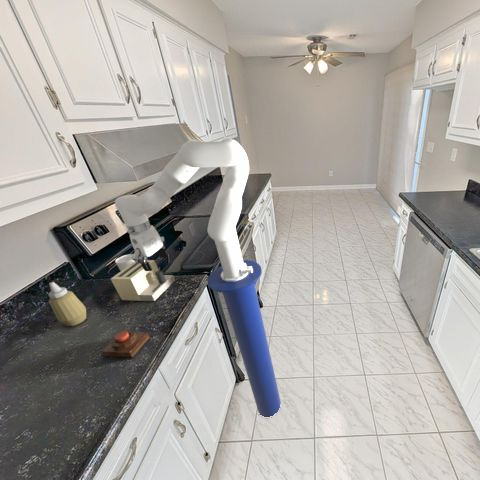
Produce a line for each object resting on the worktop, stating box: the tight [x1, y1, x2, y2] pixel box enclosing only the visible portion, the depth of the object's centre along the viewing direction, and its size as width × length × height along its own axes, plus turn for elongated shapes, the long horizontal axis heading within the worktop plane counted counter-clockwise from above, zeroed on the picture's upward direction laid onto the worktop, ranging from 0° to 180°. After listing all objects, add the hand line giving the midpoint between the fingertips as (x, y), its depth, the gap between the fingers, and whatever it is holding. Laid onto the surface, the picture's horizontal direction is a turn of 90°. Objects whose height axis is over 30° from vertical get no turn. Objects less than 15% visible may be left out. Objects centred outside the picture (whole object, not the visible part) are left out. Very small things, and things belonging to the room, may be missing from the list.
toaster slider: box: [155, 270, 166, 284], centre depth 109 cm, size 3×3×5 cm
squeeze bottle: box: [47, 281, 87, 327], centre depth 92 cm, size 8×8×18 cm
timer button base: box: [100, 329, 151, 358], centre depth 83 cm, size 10×8×4 cm
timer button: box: [113, 330, 130, 343], centre depth 82 cm, size 4×4×2 cm
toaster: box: [110, 259, 176, 302], centre depth 109 cm, size 15×14×11 cm
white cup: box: [114, 253, 135, 272], centre depth 120 cm, size 8×8×10 cm
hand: (156, 263), depth 106 cm, fingers open, 9 cm apart
